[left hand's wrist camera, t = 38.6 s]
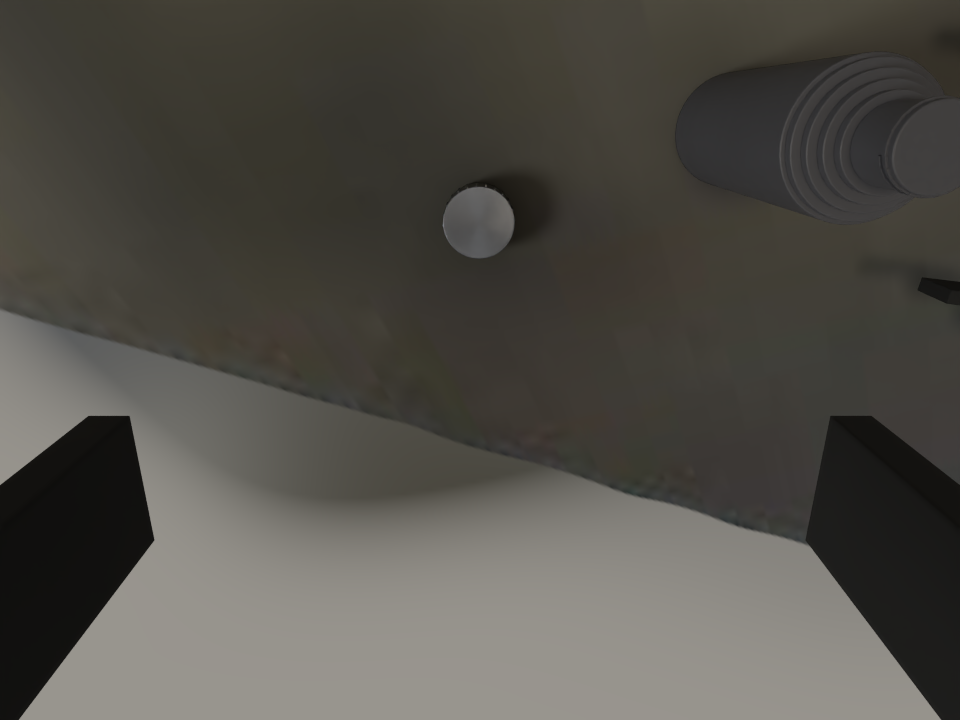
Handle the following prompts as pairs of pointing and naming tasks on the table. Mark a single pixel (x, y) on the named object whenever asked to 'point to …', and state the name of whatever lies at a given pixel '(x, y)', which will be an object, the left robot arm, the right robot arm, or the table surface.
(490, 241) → the cap
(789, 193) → the bottle
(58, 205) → the table surface
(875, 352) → the table surface
